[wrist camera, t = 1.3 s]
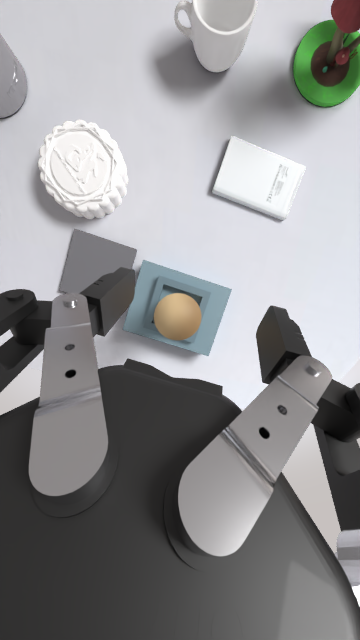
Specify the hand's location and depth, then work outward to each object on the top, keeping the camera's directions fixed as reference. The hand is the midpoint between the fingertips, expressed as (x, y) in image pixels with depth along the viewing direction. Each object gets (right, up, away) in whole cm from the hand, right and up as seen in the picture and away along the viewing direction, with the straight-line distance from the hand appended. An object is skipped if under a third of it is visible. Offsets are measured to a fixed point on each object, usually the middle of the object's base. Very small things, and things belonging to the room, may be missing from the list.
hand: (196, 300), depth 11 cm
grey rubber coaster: (-14, +7, +20) cm, 26 cm away
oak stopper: (-2, 0, +18) cm, 18 cm away
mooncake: (-15, +21, +19) cm, 32 cm away
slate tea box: (-2, +1, +21) cm, 21 cm away
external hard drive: (+11, +21, +20) cm, 31 cm away
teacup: (+3, +38, +17) cm, 42 cm away
